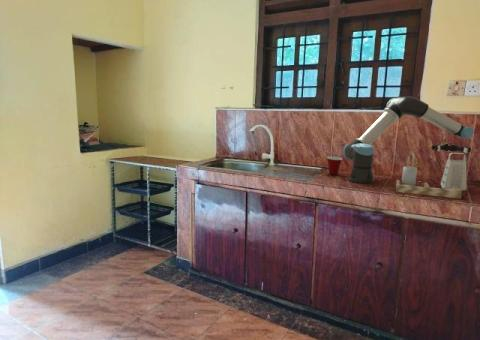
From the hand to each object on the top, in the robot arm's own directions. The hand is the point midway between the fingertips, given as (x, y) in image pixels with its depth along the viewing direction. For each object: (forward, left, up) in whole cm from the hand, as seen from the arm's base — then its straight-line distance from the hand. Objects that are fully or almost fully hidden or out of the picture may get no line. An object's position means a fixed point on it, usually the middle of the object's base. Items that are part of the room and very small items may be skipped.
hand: (452, 149), depth 182 cm
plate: (+1, -10, -21) cm, 24 cm away
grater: (+1, -10, -21) cm, 23 cm away
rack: (-13, -26, -21) cm, 36 cm away
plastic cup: (-68, +1, -22) cm, 72 cm away
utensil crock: (-22, -26, -21) cm, 40 cm away
